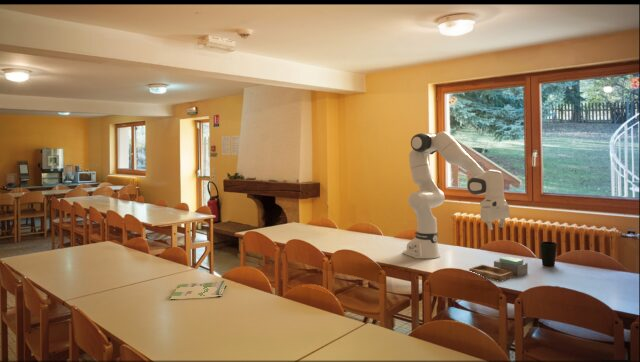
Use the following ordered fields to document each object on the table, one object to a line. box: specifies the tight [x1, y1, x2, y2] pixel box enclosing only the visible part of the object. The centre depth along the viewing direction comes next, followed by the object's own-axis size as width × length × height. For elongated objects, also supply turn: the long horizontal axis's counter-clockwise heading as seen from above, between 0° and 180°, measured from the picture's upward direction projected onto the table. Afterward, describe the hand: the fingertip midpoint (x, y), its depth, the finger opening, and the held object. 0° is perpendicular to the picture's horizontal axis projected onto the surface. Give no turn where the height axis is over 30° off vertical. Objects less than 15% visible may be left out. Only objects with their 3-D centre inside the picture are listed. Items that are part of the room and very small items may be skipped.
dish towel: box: [169, 279, 226, 298], centre depth 196 cm, size 17×23×4 cm
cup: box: [540, 241, 558, 268], centre depth 221 cm, size 8×8×12 cm
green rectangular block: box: [493, 255, 524, 268], centre depth 213 cm, size 13×6×7 cm, turn 35°
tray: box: [468, 264, 515, 282], centre depth 209 cm, size 17×11×2 cm, turn 35°
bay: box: [500, 262, 529, 278], centre depth 211 cm, size 9×9×5 cm
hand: (496, 228), depth 216 cm, fingers open, 8 cm apart
